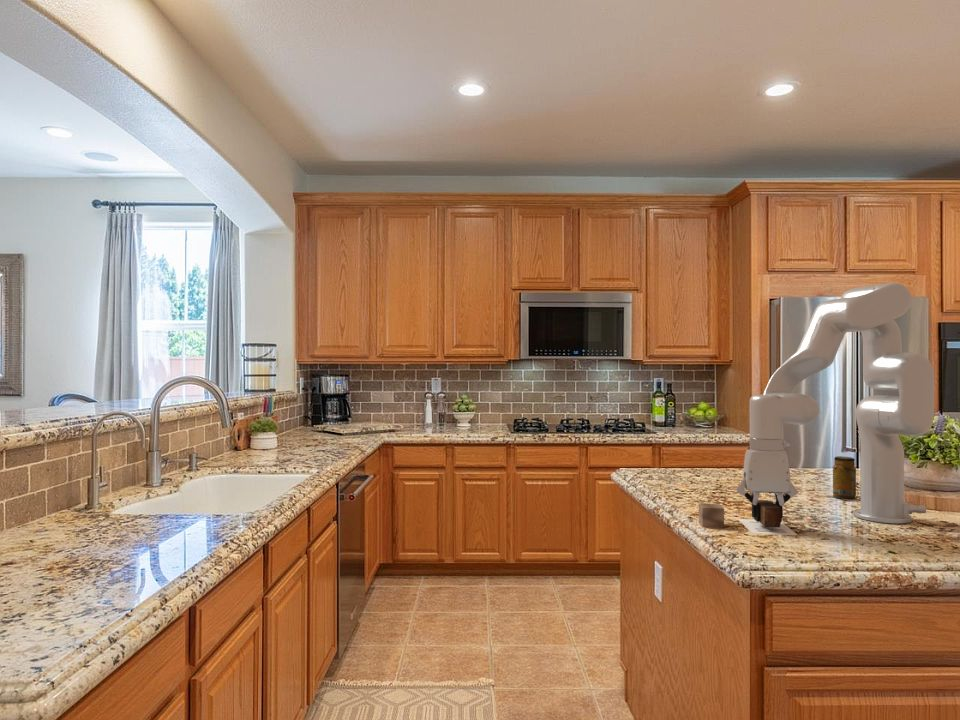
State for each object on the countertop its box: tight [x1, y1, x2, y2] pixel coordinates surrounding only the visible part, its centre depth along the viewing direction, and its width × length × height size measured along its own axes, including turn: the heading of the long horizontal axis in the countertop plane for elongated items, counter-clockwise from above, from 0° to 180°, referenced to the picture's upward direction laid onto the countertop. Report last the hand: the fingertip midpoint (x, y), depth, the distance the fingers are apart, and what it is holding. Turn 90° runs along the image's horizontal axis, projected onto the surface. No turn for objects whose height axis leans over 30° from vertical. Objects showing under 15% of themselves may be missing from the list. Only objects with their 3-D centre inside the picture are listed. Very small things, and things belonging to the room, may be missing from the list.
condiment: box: [826, 455, 861, 502], centre depth 189 cm, size 7×8×12 cm
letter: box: [738, 518, 798, 536], centre depth 154 cm, size 10×14×1 cm
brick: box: [758, 499, 783, 527], centre depth 154 cm, size 11×4×5 cm, turn 170°
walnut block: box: [698, 502, 725, 529], centre depth 155 cm, size 5×5×5 cm
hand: (767, 520), depth 154 cm, fingers closed on brick, 4 cm apart
